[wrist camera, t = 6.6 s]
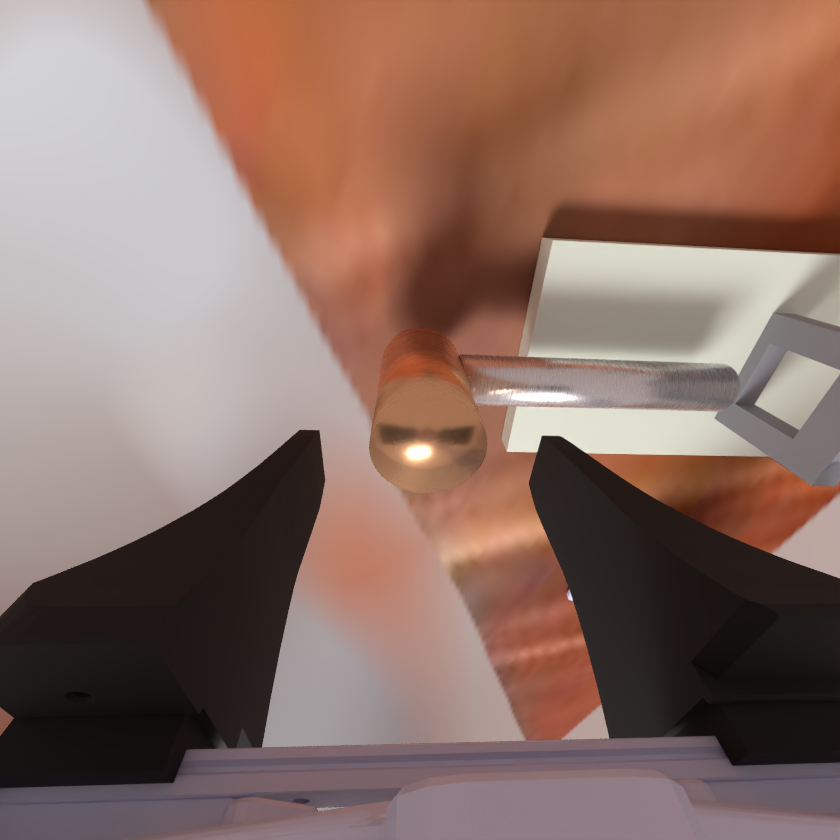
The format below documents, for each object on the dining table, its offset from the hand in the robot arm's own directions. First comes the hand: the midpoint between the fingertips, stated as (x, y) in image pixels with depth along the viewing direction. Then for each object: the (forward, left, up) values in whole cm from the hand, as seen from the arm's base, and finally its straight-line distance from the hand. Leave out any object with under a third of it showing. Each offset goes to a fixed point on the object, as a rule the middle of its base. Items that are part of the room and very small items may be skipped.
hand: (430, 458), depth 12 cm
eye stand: (0, -16, -10) cm, 19 cm away
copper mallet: (0, -6, -8) cm, 10 cm away
